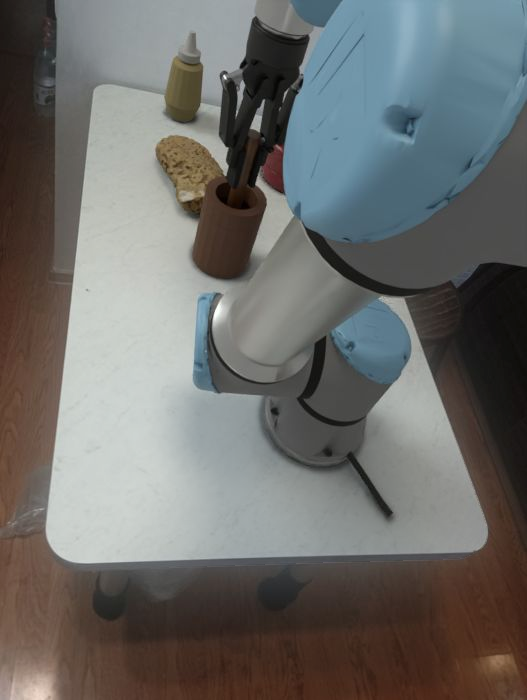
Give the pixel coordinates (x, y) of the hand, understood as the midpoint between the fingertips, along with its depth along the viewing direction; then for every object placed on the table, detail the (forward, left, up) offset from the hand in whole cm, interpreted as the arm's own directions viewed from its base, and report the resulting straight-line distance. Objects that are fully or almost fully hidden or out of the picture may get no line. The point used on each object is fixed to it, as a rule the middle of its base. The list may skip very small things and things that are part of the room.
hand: (240, 182), depth 84 cm
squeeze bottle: (+35, -29, -17) cm, 48 cm away
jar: (0, 0, -16) cm, 16 cm away
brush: (0, 0, -14) cm, 14 cm away
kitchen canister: (+6, -32, -17) cm, 37 cm away
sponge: (+17, -11, -17) cm, 26 cm away
